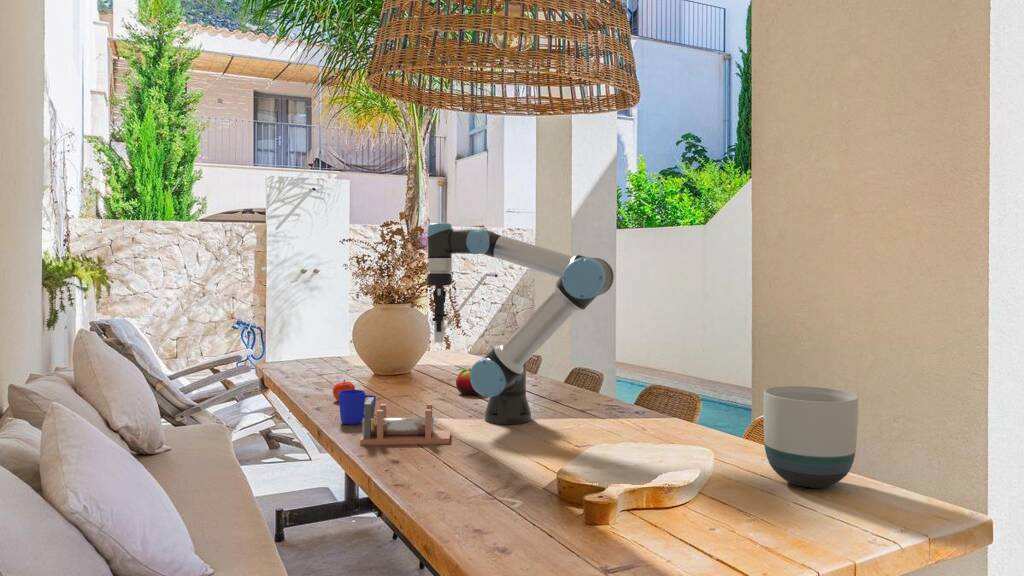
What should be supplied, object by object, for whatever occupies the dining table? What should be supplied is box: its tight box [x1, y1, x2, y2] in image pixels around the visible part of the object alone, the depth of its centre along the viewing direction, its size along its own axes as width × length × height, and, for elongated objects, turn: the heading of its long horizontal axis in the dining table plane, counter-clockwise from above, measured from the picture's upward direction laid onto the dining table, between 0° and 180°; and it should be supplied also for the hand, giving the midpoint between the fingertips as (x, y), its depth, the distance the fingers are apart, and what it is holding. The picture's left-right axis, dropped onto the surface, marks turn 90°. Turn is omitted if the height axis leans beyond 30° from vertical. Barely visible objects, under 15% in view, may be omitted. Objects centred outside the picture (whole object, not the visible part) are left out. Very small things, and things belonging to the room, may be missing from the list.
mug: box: [338, 389, 377, 426], centre depth 233 cm, size 8×12×10 cm
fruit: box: [455, 367, 479, 396], centre depth 285 cm, size 11×11×10 cm
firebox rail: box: [359, 397, 451, 446], centre depth 212 cm, size 25×10×12 cm, turn 94°
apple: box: [332, 379, 356, 402], centre depth 269 cm, size 8×8×8 cm
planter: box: [763, 385, 859, 489], centre depth 172 cm, size 20×20×21 cm
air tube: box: [361, 417, 435, 436], centre depth 212 cm, size 20×5×5 cm
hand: (439, 339), depth 232 cm, fingers open, 13 cm apart
